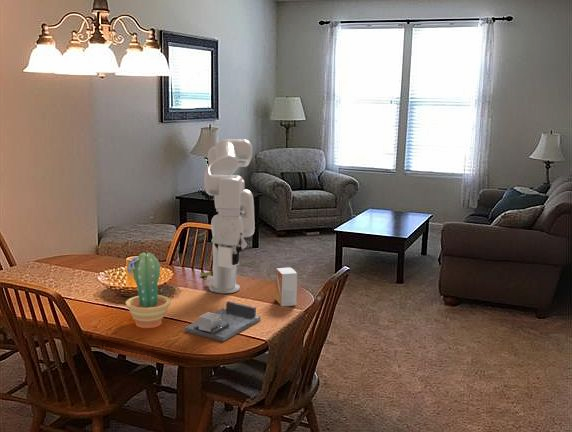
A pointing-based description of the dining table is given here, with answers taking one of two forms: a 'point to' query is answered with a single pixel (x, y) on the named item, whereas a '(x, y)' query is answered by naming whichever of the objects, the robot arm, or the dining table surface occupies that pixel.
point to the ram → (209, 321)
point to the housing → (225, 256)
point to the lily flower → (207, 274)
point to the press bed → (228, 322)
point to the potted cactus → (147, 292)
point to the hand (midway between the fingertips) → (228, 262)
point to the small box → (286, 286)
